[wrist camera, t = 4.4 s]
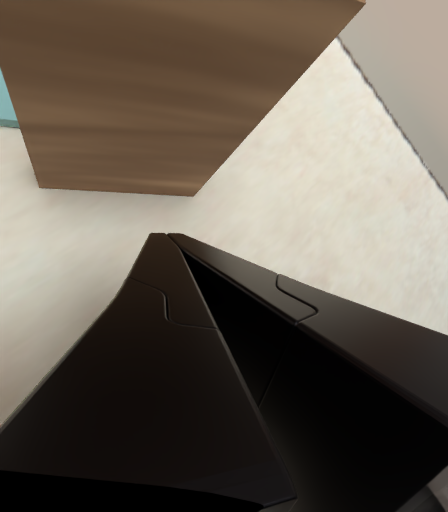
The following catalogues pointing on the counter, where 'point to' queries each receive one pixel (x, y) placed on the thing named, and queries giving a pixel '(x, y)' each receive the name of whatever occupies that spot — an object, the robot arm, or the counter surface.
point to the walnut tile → (152, 83)
